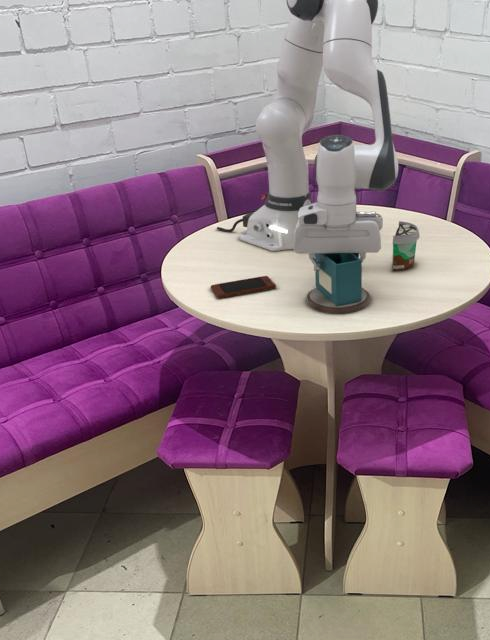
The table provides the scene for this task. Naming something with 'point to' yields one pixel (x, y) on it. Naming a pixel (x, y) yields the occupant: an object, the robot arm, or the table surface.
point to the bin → (339, 277)
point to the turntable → (327, 306)
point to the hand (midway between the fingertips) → (337, 269)
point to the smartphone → (242, 286)
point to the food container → (404, 246)
